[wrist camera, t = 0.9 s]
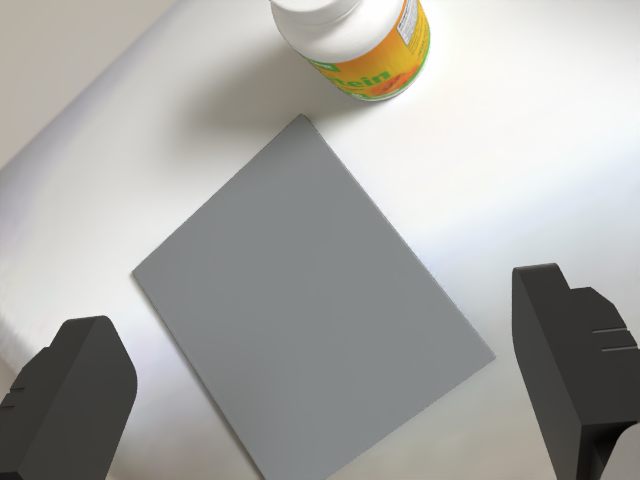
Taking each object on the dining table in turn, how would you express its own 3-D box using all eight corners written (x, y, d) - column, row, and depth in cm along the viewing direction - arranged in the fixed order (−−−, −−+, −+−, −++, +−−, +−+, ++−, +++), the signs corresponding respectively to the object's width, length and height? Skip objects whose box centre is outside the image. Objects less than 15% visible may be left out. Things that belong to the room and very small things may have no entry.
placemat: (138, 271, 33) (131, 271, 33) (305, 116, 30) (300, 113, 30) (289, 503, 30) (284, 508, 29) (495, 356, 27) (495, 358, 26)
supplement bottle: (320, 101, 30) (227, 33, 21) (333, -5, 30) (245, -120, 21) (425, 105, 28) (374, 33, 19) (439, -8, 28) (394, -135, 19)
